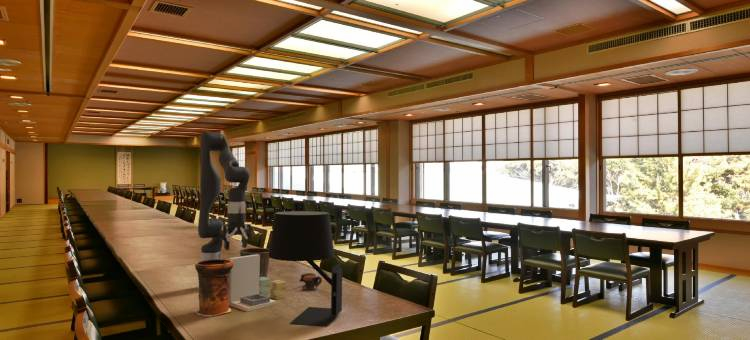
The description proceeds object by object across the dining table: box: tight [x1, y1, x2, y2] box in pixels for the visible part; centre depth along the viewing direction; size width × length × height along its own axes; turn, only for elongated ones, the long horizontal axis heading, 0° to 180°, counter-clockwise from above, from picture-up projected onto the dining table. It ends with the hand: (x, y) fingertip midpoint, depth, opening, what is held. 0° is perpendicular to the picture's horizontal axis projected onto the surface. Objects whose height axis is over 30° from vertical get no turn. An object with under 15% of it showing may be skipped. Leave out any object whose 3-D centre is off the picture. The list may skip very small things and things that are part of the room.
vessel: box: [194, 258, 233, 317], centre depth 178 cm, size 14×14×20 cm
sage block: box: [259, 277, 272, 296], centre depth 207 cm, size 5×5×7 cm
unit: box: [228, 254, 277, 313], centre depth 189 cm, size 14×14×20 cm
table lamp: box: [268, 210, 343, 328], centre depth 175 cm, size 26×28×40 cm
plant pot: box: [238, 247, 270, 278], centre depth 231 cm, size 16×16×16 cm
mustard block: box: [269, 279, 287, 300], centre depth 201 cm, size 5×5×7 cm
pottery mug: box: [299, 272, 323, 291], centre depth 219 cm, size 12×10×8 cm
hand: (235, 248), depth 197 cm, fingers open, 8 cm apart
